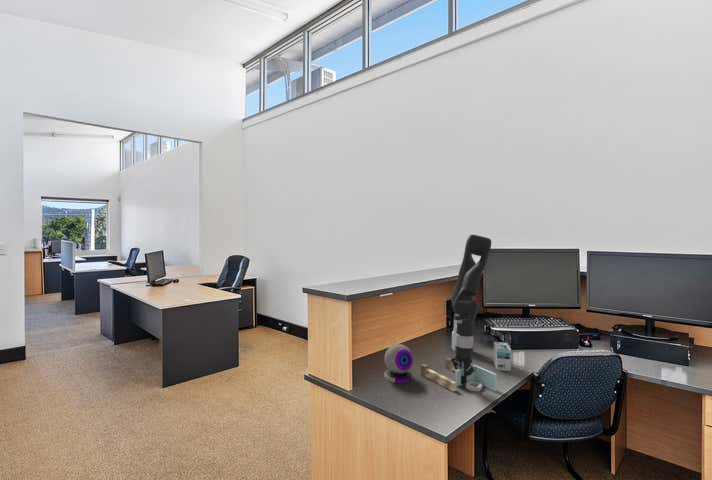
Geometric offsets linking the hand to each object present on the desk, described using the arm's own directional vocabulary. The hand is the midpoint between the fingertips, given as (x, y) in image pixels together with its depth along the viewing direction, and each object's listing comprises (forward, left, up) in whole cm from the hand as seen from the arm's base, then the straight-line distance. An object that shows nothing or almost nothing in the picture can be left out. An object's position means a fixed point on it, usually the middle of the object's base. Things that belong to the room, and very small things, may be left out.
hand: (462, 383), depth 163 cm
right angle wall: (+5, +2, -1) cm, 6 cm away
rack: (-8, +1, -1) cm, 8 cm away
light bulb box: (-5, +33, -1) cm, 33 cm away
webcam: (-21, -19, -1) cm, 28 cm away
